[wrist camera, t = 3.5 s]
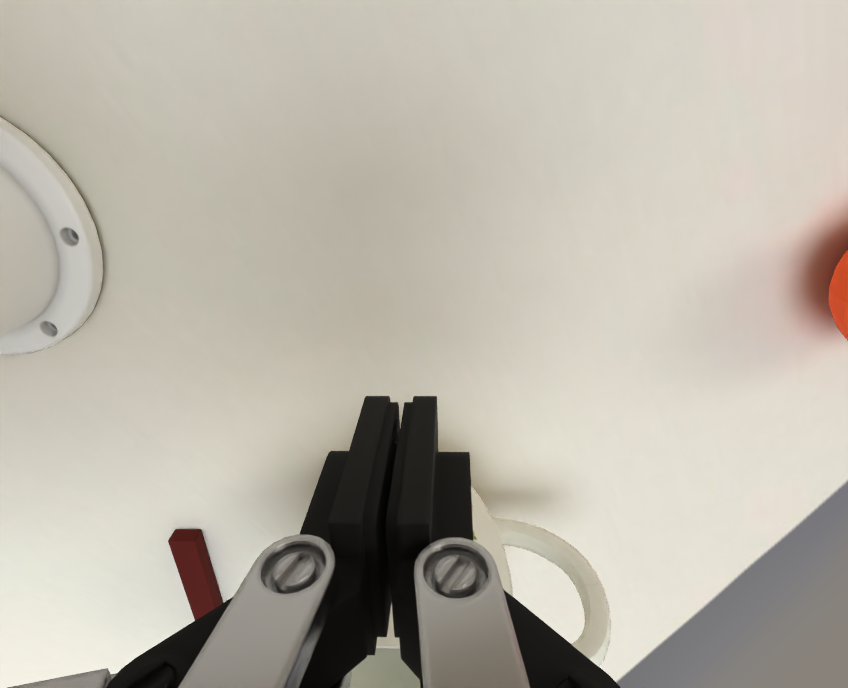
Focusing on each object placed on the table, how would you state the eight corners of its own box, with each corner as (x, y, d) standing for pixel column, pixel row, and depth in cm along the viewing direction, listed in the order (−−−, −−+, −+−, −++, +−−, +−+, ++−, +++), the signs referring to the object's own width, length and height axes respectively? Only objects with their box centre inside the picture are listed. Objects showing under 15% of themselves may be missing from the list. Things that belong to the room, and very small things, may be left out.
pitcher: (564, 558, 34) (633, 823, 21) (297, 558, 35) (216, 813, 22) (579, 420, 29) (680, 659, 17) (270, 424, 30) (147, 655, 18)
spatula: (218, 712, 43) (214, 725, 42) (154, 529, 34) (146, 541, 33) (272, 713, 43) (268, 727, 42) (221, 529, 34) (215, 541, 33)
